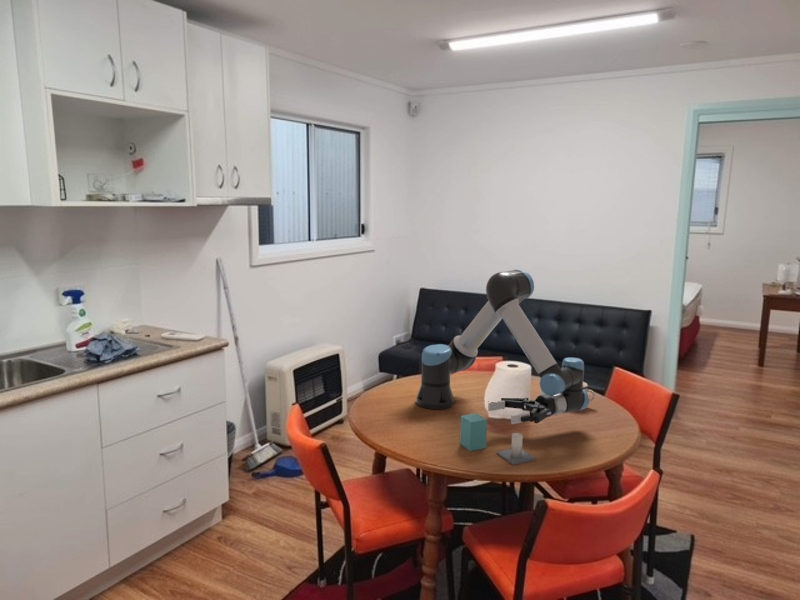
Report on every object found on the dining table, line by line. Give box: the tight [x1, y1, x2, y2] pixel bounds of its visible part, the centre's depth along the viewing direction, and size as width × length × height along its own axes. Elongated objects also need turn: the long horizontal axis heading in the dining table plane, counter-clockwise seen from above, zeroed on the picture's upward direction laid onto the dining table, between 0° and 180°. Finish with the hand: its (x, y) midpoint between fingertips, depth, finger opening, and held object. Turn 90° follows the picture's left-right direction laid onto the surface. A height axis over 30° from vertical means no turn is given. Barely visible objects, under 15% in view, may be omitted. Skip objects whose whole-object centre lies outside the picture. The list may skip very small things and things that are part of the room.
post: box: [496, 432, 537, 466], centre depth 183 cm, size 9×9×8 cm
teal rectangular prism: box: [459, 413, 488, 452], centre depth 190 cm, size 6×6×10 cm
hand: (499, 413), depth 193 cm, fingers open, 13 cm apart
